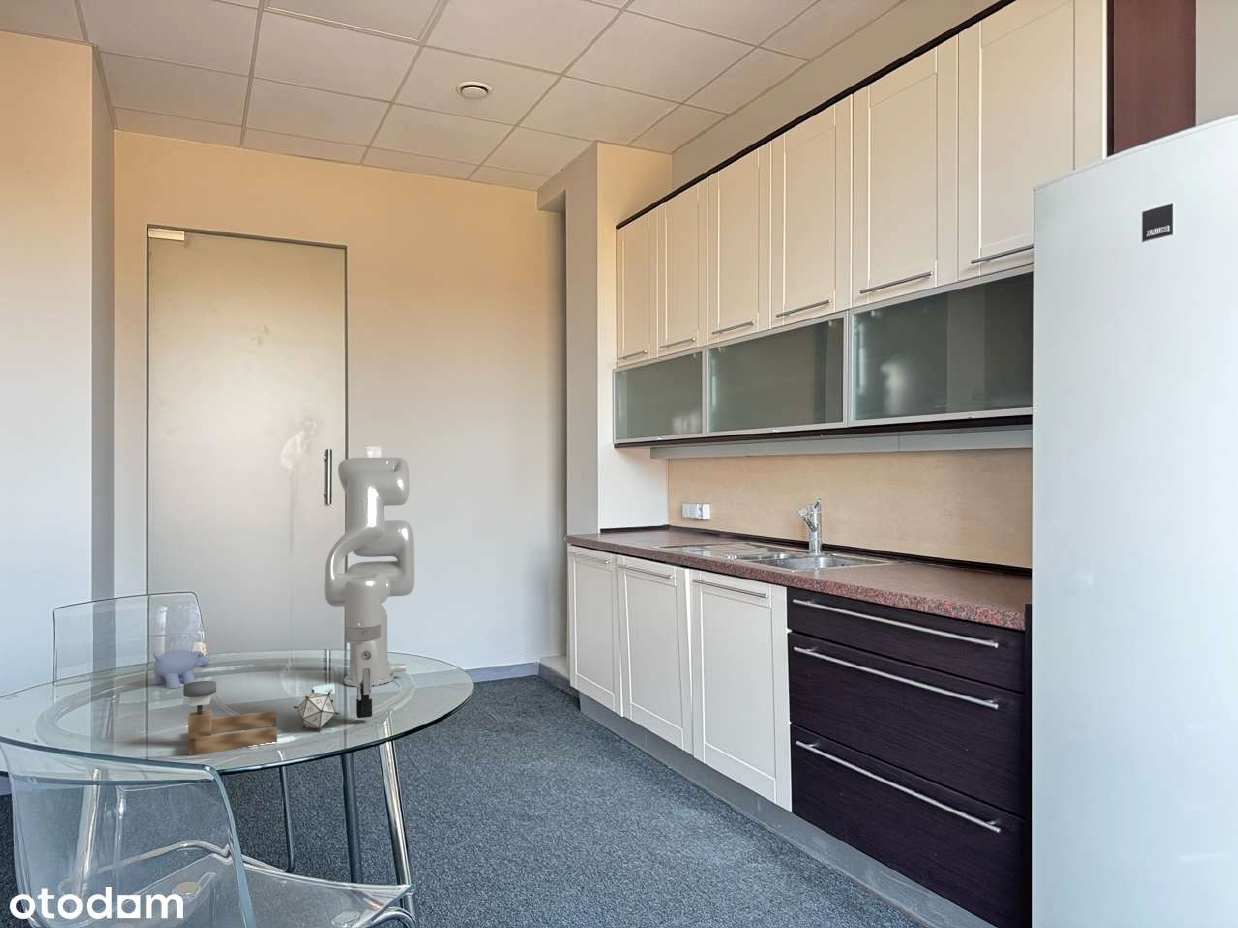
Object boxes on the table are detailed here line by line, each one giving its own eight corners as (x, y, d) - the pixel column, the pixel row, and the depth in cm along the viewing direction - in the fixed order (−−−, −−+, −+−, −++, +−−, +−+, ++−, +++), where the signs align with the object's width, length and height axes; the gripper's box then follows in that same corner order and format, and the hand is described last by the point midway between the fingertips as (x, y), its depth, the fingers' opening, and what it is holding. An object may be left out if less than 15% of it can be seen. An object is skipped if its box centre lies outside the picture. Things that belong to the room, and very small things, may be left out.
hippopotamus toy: (219, 678, 223) (219, 643, 223) (164, 691, 210) (163, 654, 210) (196, 674, 229) (196, 639, 229) (141, 686, 216) (141, 650, 216)
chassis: (276, 724, 181) (276, 688, 181) (276, 743, 168) (276, 705, 168) (192, 734, 174) (191, 697, 174) (185, 755, 161) (185, 715, 161)
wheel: (216, 697, 173) (216, 679, 173) (215, 704, 167) (215, 686, 167) (184, 700, 170) (184, 682, 170) (181, 708, 165) (181, 689, 165)
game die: (310, 744, 178) (303, 701, 183) (348, 728, 179) (339, 686, 184) (291, 735, 171) (284, 691, 176) (330, 719, 171) (322, 675, 176)
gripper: (385, 638, 176) (386, 723, 176) (376, 626, 190) (377, 705, 190) (348, 641, 173) (349, 728, 173) (342, 629, 187) (343, 709, 187)
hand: (364, 716), depth 181 cm, fingers closed
